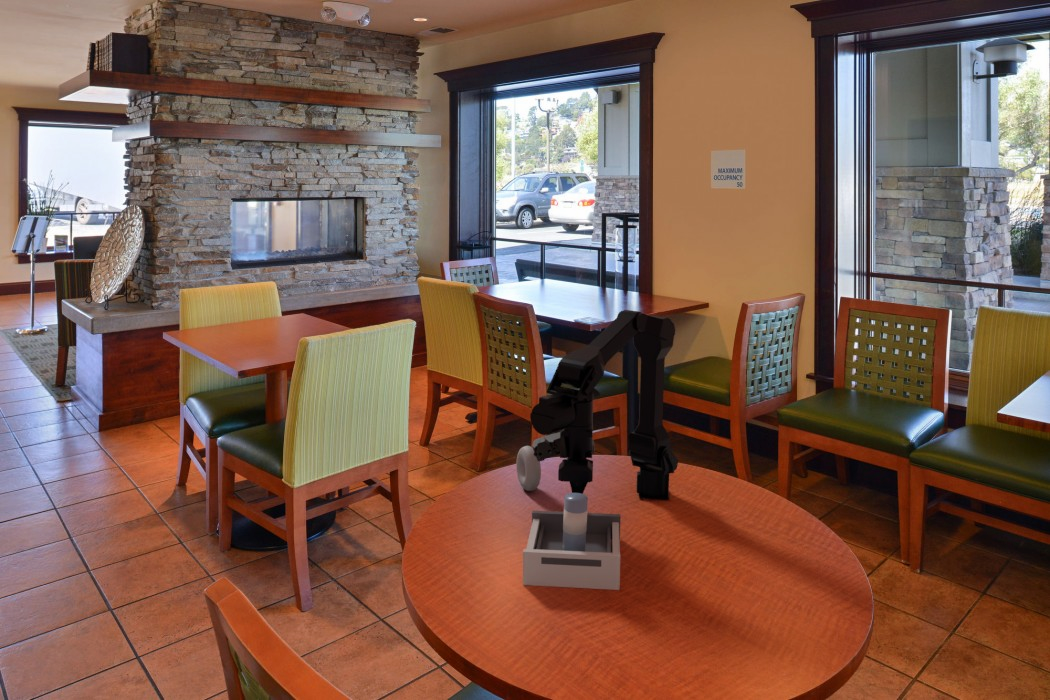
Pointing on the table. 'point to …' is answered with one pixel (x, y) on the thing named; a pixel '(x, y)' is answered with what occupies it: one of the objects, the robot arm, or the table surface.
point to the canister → (575, 522)
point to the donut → (528, 468)
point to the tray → (595, 533)
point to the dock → (571, 565)
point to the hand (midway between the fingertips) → (576, 500)
